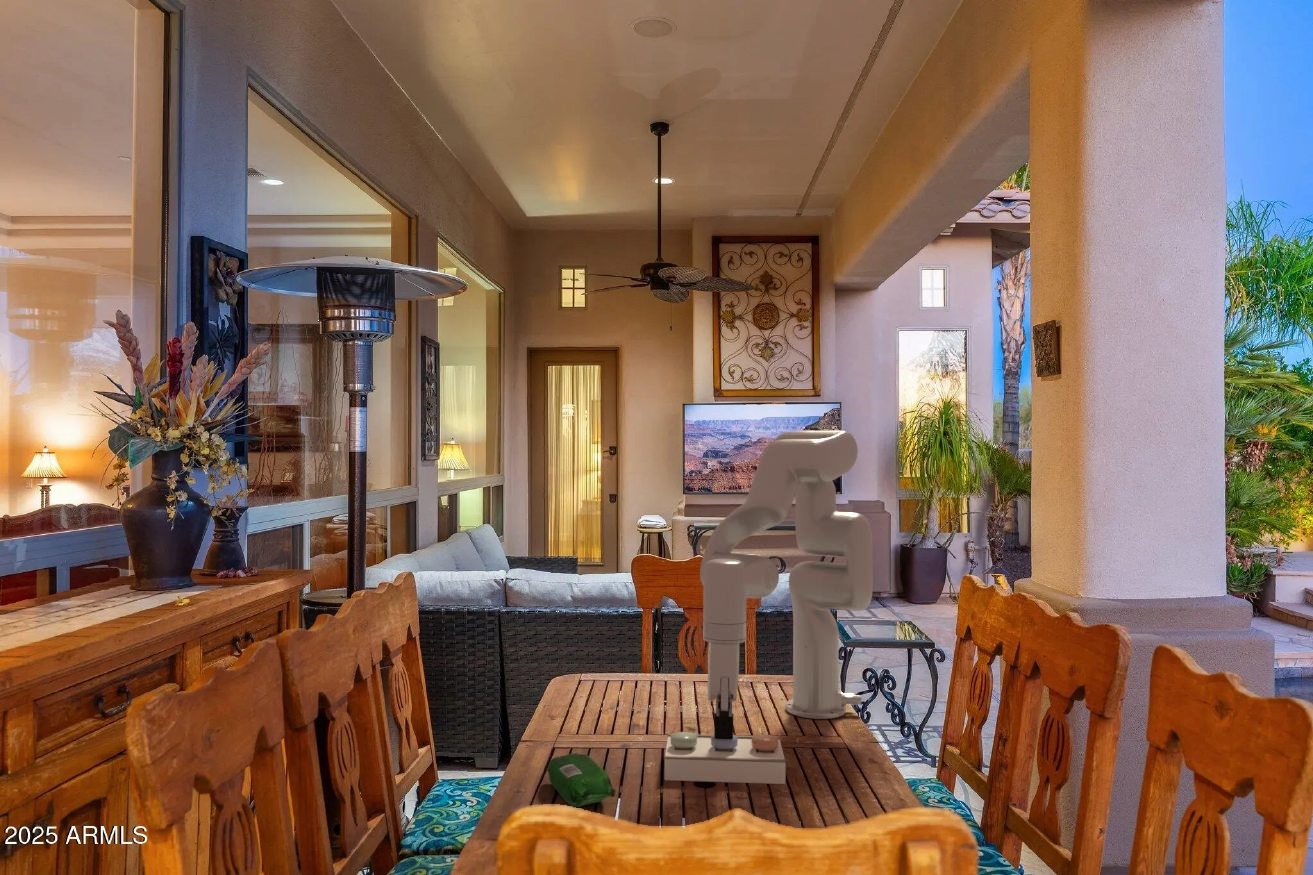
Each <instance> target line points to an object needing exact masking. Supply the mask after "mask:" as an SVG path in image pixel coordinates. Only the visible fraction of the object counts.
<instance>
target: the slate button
mask: <svg viewBox="0 0 1313 875" xmlns="http://www.w3.org/2000/svg"><path fill="white" fill-rule="evenodd" d="M711 735H712V736H711V745H712V746H713V747H716V748H717V751H729V752H731V748H735V747H737V745H738V737H737V736H738V735H735V734H733V739H715V737H714V733H713V734H711Z"/></svg>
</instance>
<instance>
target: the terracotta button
mask: <svg viewBox="0 0 1313 875" xmlns="http://www.w3.org/2000/svg"><path fill="white" fill-rule="evenodd" d="M752 736H753V737H752V747H753V748H755V749H758V750H757V752H762V753H772V750H774V749H777V748H778V738H777V737H778V736H776V735H772V734H764V733H763V734H756V735H752Z"/></svg>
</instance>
